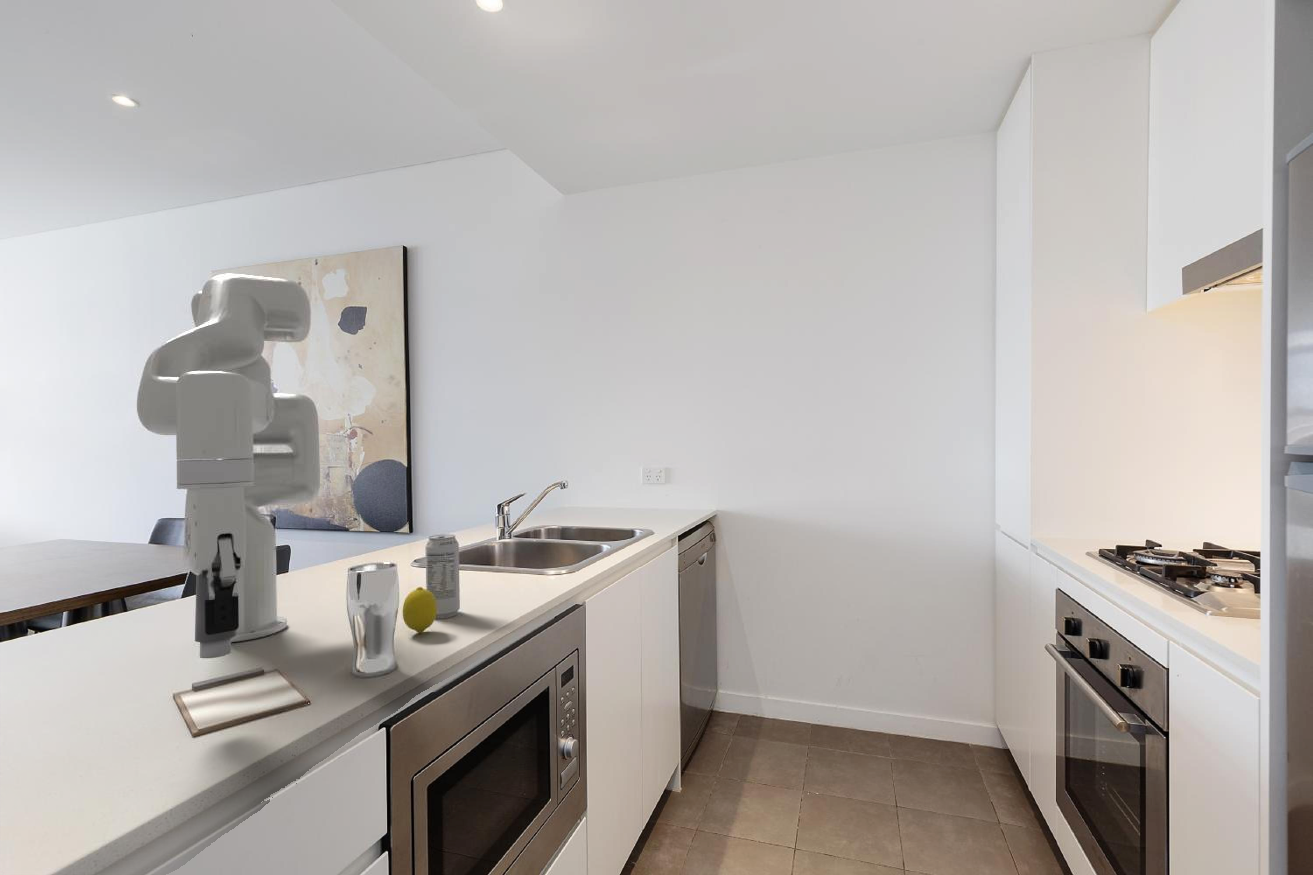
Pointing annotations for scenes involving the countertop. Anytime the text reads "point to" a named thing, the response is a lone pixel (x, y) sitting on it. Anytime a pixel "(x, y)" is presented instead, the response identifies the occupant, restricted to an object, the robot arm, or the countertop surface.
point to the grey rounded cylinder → (208, 643)
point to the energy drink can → (443, 573)
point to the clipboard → (237, 699)
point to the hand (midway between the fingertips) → (218, 626)
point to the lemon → (419, 609)
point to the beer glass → (373, 617)
